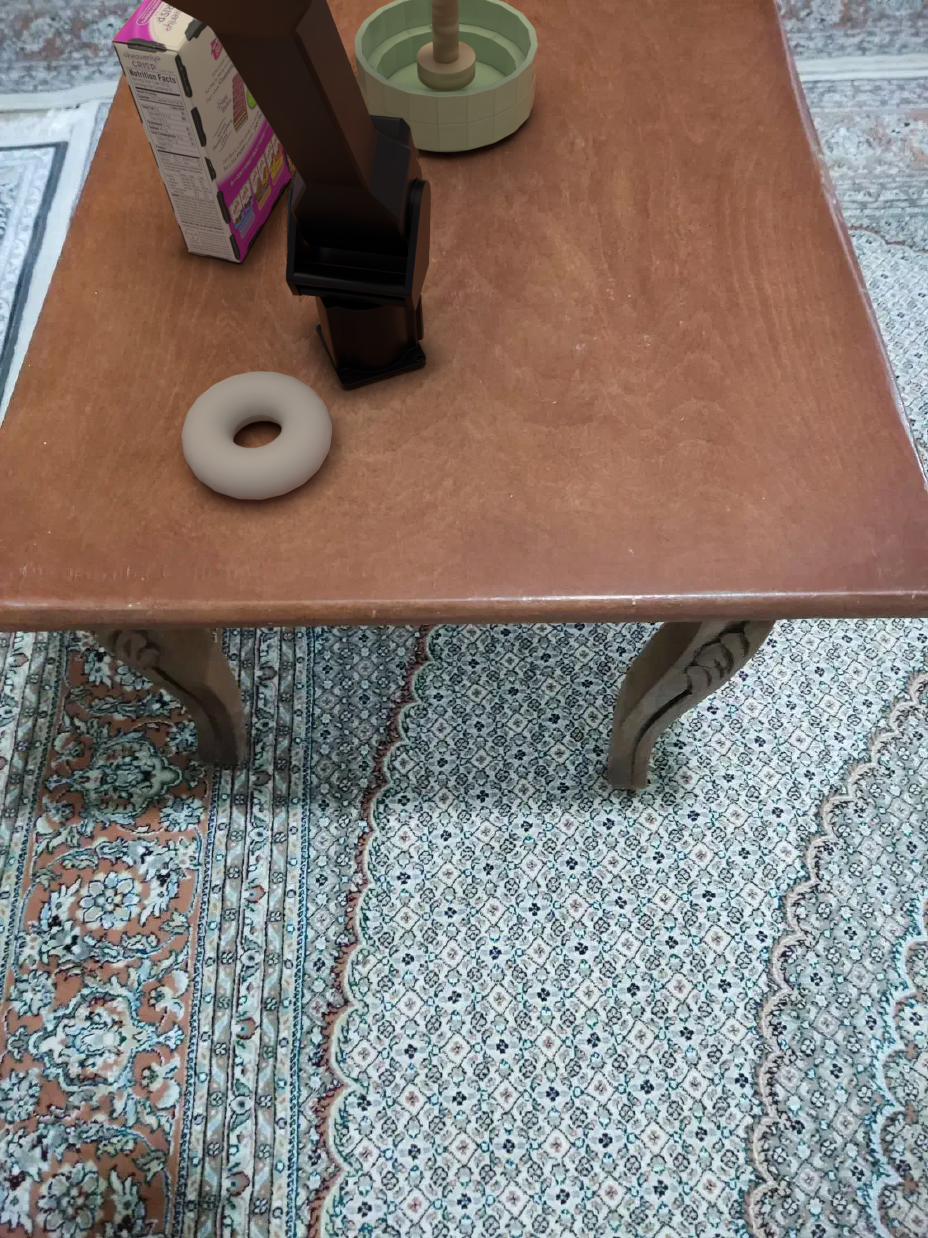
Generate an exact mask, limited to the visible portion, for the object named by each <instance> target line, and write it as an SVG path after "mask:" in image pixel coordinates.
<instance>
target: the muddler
mask: <svg viewBox="0 0 928 1238" xmlns="http://www.w3.org/2000/svg"><path fill="white" fill-rule="evenodd" d="M431 12H432V40H433V42H430V43H428V44H426V45H424V46H423V47H422V48H421V49H420V50H419V51H418V53H417V75H418V79H419V80H420V82H421V83H422V84H423V85H425V86H426V87H428V88H431V89H434V90H438V91H454V90H458V89H461V88H464V87H466V86H468V85H469V84H470V83H471V82H472V81H473V80H474V78H475V70H476V55H475V52H474V50H473V49H472V48H471V47H470V46H469V45H467V44H465V43H463V42H460V41H459V2H458V0H431Z"/></svg>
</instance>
